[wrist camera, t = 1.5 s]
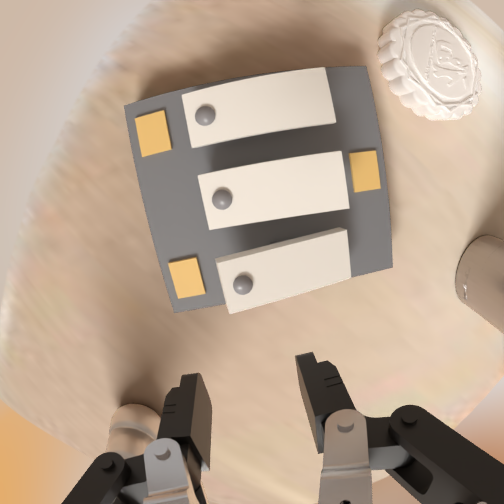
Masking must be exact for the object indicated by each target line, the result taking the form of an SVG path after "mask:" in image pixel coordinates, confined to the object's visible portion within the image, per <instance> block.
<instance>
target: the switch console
mask: <svg viewBox="0 0 504 504" xmlns="http://www.w3.org/2000/svg"><path fill="white" fill-rule="evenodd" d="M299 70H303V69H299ZM289 71H296V70H289ZM289 71H280V72H272V73H264V74H257V75H251V76H244V77H238V78H233V79H227V80H222V81H217V82H212V83H207V84H202V85H198V86H193V87H189V88H185V89H181V90H177V91H173V92H169V93H165V94H161V95H158V96H154V97H151V98H147V99H144V100H141V101H137V102H134V103H131V104H128V105H125V106H124V109H125V115H126V121H127V127H128V132H129V137H130V143H131V148H132V153H133V158H134V163H135V167H136V172H137V177H138V181H139V186H140V190H141V194H142V199H143V203H144V207H145V211H146V215H147V219H148V223H149V227H150V231H151V235H152V238H153V242H154V246H155V250H156V253H157V257H158V260H159V264H160V267H161V271H162V274H163V278H164V281H165V284H166V288H167V291H168V294H169V297H170V301H171V304H172V307H173V310H174V313H178V312H184V311H189V310H195V309H201V308H206V307H212V306H217V305H223V304H226V302H225V298H224V294H223V290H222V285H221V281H220V277H219V273H218V269H217V265H216V260H215V258H219V257H223V256H227V255H231V254H235V253H239V252H243V251H247V250H251V249H255V248H259V247H262V246H266V245H270V244H274V243H278V242H282V241H286V240H290V239H294V238H298V237H302V236H306V235H310V234H314V233H318V232H322V231H326V230H330V229H334V228H338V227H340V228H343V229H346V230H347V236H348V246H349V256H350V268H351V277H355V276H360V275H364V274H368V273H372V272H376V271H380V270H384V269H388V268H392V267H393V263H392V239H391V223H390V210H389V199H388V189H387V180H386V172H385V164H384V157H383V150H382V143H381V137H380V131H379V125H378V119H377V114H376V109H375V103H374V99H373V94H372V89H371V85H370V80H369V76H368V72H367V67H366V66H348V67H325V71H326V75H327V79H328V84H329V88H330V93H331V98H332V103H333V107H334V113H335V118H336V123H334V124H326V125H318V126H311V127H303V128H297V129H290V130H284V131H278V132H272V133H266V134H260V135H255V136H250V137H245V138H240V139H235V140H230V141H225V142H220V143H216V144H211V145H207V146H203V147H198V148H192V147H191V142H190V137H189V132H188V126H187V121H186V116H185V111H184V106H183V100H182V95H183V94H186V93H190V92H193V91H197V90H201V89H205V88H209V87H213V86H217V85H221V84H225V83H230V82H234V81H239V80H244V79H248V78H254V77H259V76H264V75H270V74H276V73H282V72H289ZM333 151H342V158H343V164H344V171H345V178H346V185H347V192H348V200H349V209H342V210H335V211H328V212H321V213H314V214H307V215H301V216H294V217H287V218H281V219H274V220H268V221H262V222H255V223H249V224H243V225H237V226H231V227H225V228H219V229H213V230H209V226H208V222H207V217H206V213H205V208H204V204H203V199H202V194H201V190H200V185H199V180H198V175H201V174H205V173H209V172H214V171H219V170H224V169H229V168H234V167H239V166H245V165H250V164H255V163H261V162H267V161H273V160H279V159H285V158H291V157H298V156H304V155H311V154H318V153H326V152H333Z"/></svg>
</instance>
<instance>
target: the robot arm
mask: <svg viewBox="0 0 504 504" xmlns="http://www.w3.org/2000/svg"><path fill="white" fill-rule="evenodd" d="M456 292H457V295H458V297H459V299H460V300H461V301H462V302H463V303H464V304H466V305H467V306H468V307H470V308H471V309H472V310H474V311H475V312H476V313H478V314H479V315H480V316H481V317H483V318H484V319H485V320H487V321H488V322H489V323H490V324H492V325H493V326H494V327H496V328H497V329H498V330H499V331H501V332H502V333H503V334H504V241H503V240H501V239H499V238H496V237H494V236H491V235H484V236H481V237H479V238H477V239H476V240H474V241H473V242H472V243H471V244H470V245H469V247H468V248H467V249H466V251H465V253H464V254H463V256H462V258H461V261H460V263H459V266H458V269H457V274H456ZM295 359H296V366H297V373H298V380H299V386H300V391H301V395H302V399H303V402H304V406H305V409H306V413H307V416H308V420H309V423H310V427H311V430H312V434H313V437H314V441H315V444H316V448H317V451H318V454H320V453H324V456H323V469H322V471H321V479H320V490H319V501H318V504H372V477H371V470H382V469H385V471H386V472H387V473H389V474H390V475H391V476H392V477H393V478H394V479H395V480H396V481H397V482H398V483H399V484H401V486H403V487H404V488H405V489H406V490H407V491H408V492H409V493H410V494H411V495H412V496H414V497H415V498H416V499H417V500H418V501H419V502H420V503H421V504H504V464H502V463H501V462H499V461H498V460H496V459H495V458H493V457H492V456H490V455H489V454H487V453H486V452H485V451H483V450H481V449H480V448H479V447H477V446H476V445H474V444H473V443H472V442H470V441H469V440H467V439H466V438H464V437H463V436H461V435H460V434H459V433H457V432H456V431H454V430H453V429H451V428H450V427H449V426H447V425H446V424H444V423H443V422H441V421H440V420H439V419H437V418H436V417H434V416H433V415H432V414H430V413H429V412H427V411H426V410H425V409H423V408H421V407H419V406H416V405H405V406H402V407H399V408H398V409H396V410H395V411H394V412H393V413H392V415H391V417H381V418H371V417H367V416H364V415H363V414H361V413H360V412H358V411H357V410H356V408H355V407H354V404H353V402H352V400H351V398H350V396H349V394H348V392H347V389H346V387H345V385H344V384H343V381H342V379H341V377H340V374H339V372H338V370H337V368H336V366H334V365H333V364H331V363H330V362H329V361H323V362H319V363H317V361H316V359H315V356H314V354H313V352H310V353H305V354H301V355H297V356H295ZM162 413H163V414H162V416H161V420H160V425H159V430H158V434H157V439H156V440H155V441H153V442H151V443H150V444H149V445H148V446H147V447H146V449H145V451H144V454H142V455H139V456H135V457H131V458H127V459H124V458H123V457H122V456H121V455H120V454H118V453H115V452H107V453H103V454H101V455H100V456H98V457H97V458H96V459H95V460H94V462H93V463H92V464H91V466H90V467H89V468H88V469H87V471H86V472H85V474H84V475H83V476H82V477H81V479H80V480H79V481H78V483H77V484H76V485H75V487H74V488H73V489H72V491H71V492H70V493H69V495H68V496H67V497H66V498H65V500H64V501H63V502H62V504H209V502H208V499H207V496H206V493H205V489H204V486H203V483H202V481H201V471H210V447H211V425H212V405H211V400H210V397H209V395H208V392H207V389H206V387H205V384H204V381H203V379H202V376H201V374H200V373H194V374H187V375H182V377H181V382H180V387H175V388H172V389H171V390H170V392H169V393H168V394H167V396H166V398H165V403H164V407H163V411H162ZM115 498H116V499H115ZM113 501H114V502H113Z"/></svg>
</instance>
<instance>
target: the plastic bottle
mask: <svg viewBox="0 0 504 504" xmlns="http://www.w3.org/2000/svg"><path fill="white" fill-rule="evenodd" d="M160 420H161V419H160V417H159V416H158V414H157V413H156V412H155V411H153V410H152V409H150V408H149V407H146V406H144V405H140V404H127V405H124V406H122V407H120V408H118V409H117V411H116V412H115V413H114V415H113V417H112V419H111V423H110V430H109V439H108V444H107V448H106V453H107V452H115V453H118V454H120V455H121V456H122V457H123V458H124V459H127V458H131V457H135V456H139V455H142V454H144V451H145V449H146V447H147V446H148V445H149V444H150V443H151V442H153V441H155V440H156V439H157V434H158V430H159V425H160ZM115 499H116V498H115ZM113 502H114V501H113Z"/></svg>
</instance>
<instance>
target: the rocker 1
mask: <svg viewBox="0 0 504 504" xmlns="http://www.w3.org/2000/svg"><path fill="white" fill-rule="evenodd" d="M182 100H183V106H184V111H185V116H186V121H187V126H188V132H189V137H190V142H191V147H192V148H198V147H203V146H207V145H211V144H216V143H220V142H225V141H230V140H235V139H240V138H245V137H250V136H255V135H260V134H266V133H272V132H278V131H284V130H290V129H297V128H303V127H311V126H318V125H326V124H334V123H336V118H335V113H334V107H333V103H332V98H331V93H330V88H329V84H328V79H327V75H326V71H325V67H320V68H311V69H303V70H296V71H289V72H282V73H276V74H270V75H264V76H259V77H254V78H248V79H244V80H239V81H234V82H230V83H225V84H221V85H217V86H213V87H209V88H205V89H201V90H197V91H193V92H190V93H186V94H183V95H182Z"/></svg>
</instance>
